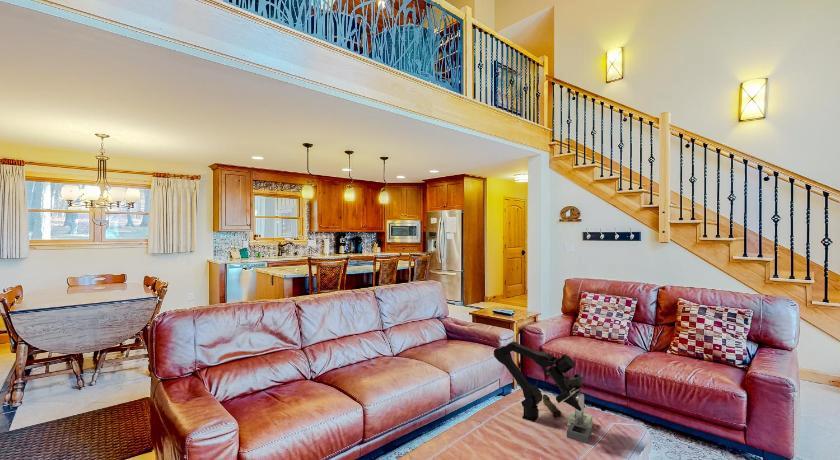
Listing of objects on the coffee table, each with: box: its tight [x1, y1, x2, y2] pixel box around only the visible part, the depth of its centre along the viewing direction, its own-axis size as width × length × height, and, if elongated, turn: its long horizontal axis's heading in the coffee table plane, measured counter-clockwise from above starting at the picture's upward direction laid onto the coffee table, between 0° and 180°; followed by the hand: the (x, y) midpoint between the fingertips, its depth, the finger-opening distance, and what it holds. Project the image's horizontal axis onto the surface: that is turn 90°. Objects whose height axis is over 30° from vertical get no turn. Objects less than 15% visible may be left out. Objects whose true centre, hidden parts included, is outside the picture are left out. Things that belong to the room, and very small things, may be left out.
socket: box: [566, 423, 593, 445], centre depth 176 cm, size 9×9×3 cm
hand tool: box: [542, 393, 562, 418], centre depth 202 cm, size 19×4×5 cm, turn 0°
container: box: [566, 410, 594, 428], centre depth 186 cm, size 10×10×4 cm
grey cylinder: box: [574, 392, 585, 425], centre depth 176 cm, size 4×4×13 cm
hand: (582, 409), depth 175 cm, fingers closed on grey cylinder, 4 cm apart
